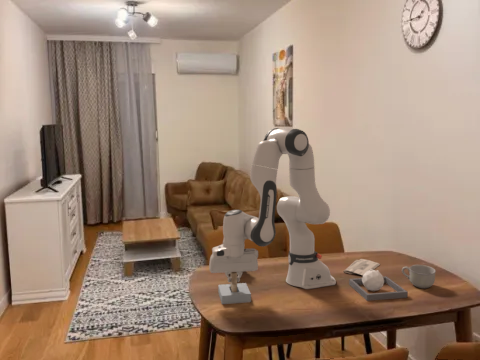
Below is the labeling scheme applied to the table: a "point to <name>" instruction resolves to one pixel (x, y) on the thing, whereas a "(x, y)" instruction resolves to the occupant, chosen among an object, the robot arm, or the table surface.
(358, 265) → the newspaper
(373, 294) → the grey rectangular frame
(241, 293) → the grey peg hole block
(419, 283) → the teacup
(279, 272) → the table surface
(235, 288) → the wooden peg
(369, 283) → the decorative ball
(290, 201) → the robot arm
